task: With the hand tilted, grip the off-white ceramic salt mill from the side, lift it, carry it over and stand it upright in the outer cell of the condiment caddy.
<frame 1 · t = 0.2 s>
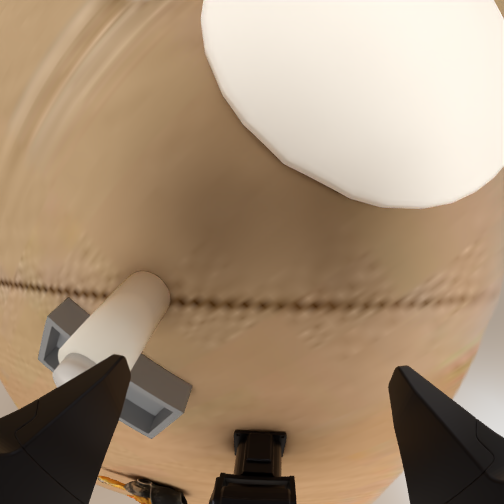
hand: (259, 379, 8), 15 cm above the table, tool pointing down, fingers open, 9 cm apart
plate: (377, 37, 16), on the table
salt mill: (146, 294, 25), on the table
condiment caddy: (115, 364, 28), on the table
fried shrimp in bowl: (146, 480, 41), on the table
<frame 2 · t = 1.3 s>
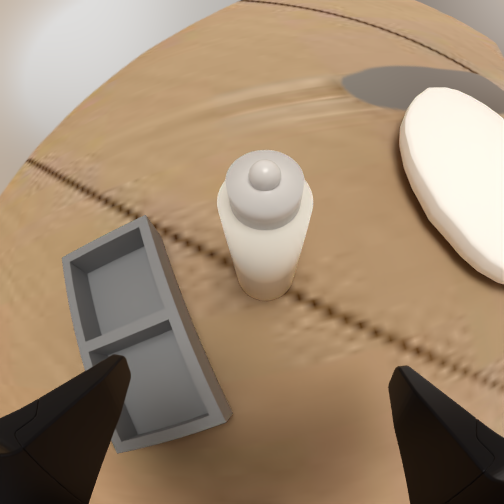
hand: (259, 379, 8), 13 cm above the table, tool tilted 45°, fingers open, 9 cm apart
plate: (479, 185, 27), on the table
salt mill: (265, 273, 24), on the table
condiment caddy: (145, 338, 22), on the table
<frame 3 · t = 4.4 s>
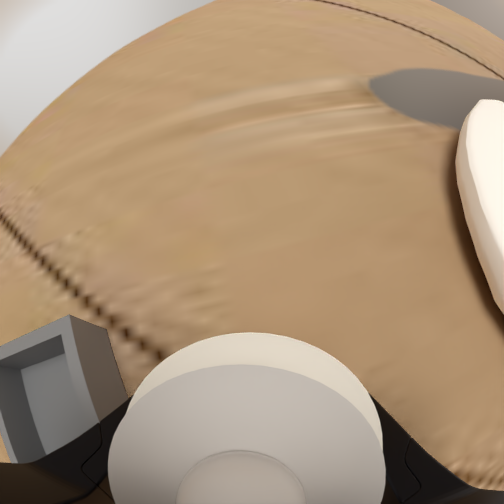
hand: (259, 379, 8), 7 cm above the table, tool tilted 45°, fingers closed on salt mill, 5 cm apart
salt mill: (260, 402, 14), on the table, touching gripper
condiment caddy: (97, 466, 12), on the table
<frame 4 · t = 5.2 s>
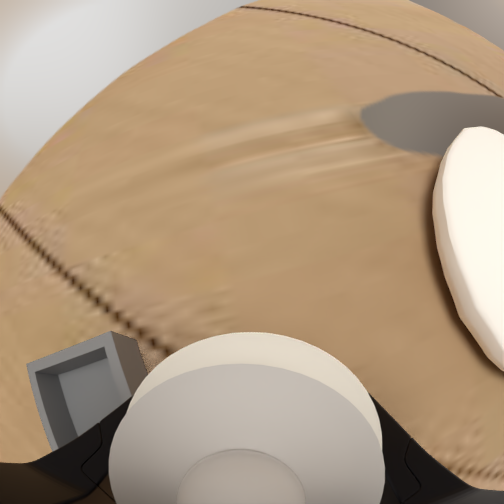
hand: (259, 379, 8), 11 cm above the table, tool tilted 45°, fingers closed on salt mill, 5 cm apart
salt mill: (260, 401, 14), point 5 cm above the table, touching gripper
condiment caddy: (127, 452, 16), on the table
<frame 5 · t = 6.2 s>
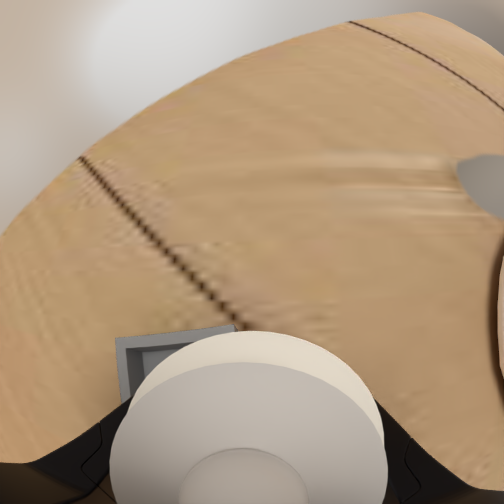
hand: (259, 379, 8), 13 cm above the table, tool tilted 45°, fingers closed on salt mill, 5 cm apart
salt mill: (260, 401, 14), point 7 cm above the table, touching gripper
condiment caddy: (200, 438, 19), on the table
when the fingers open (9 cm above the table, at t = 8.5 s): salt mill drops 1 cm, resting on condiment caddy.
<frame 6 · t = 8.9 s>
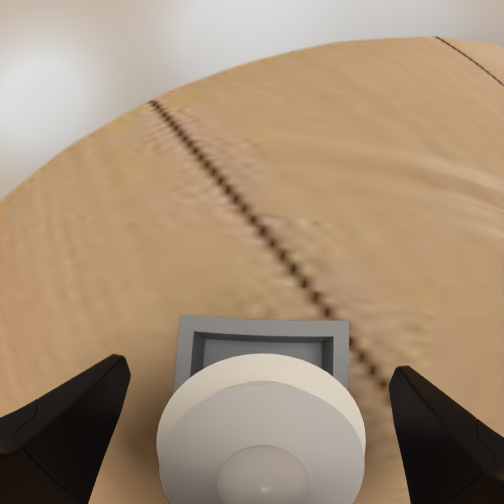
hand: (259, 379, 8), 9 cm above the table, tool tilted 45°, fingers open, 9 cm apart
salt mill: (259, 401, 15), point 1 cm above the table, touching condiment caddy
condiment caddy: (257, 455, 15), on the table
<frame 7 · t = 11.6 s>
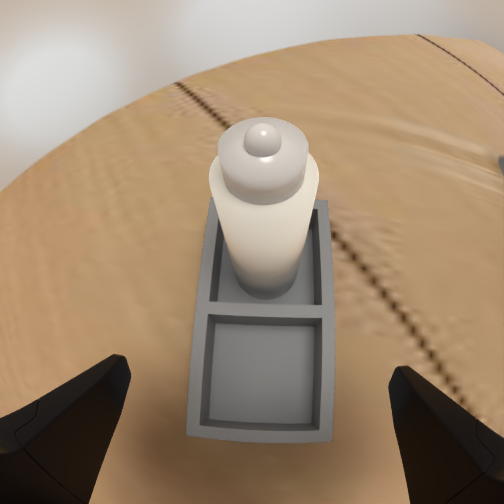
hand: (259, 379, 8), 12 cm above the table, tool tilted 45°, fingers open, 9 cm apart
salt mill: (266, 269, 22), point 1 cm above the table, touching condiment caddy
condiment caddy: (265, 322, 21), on the table
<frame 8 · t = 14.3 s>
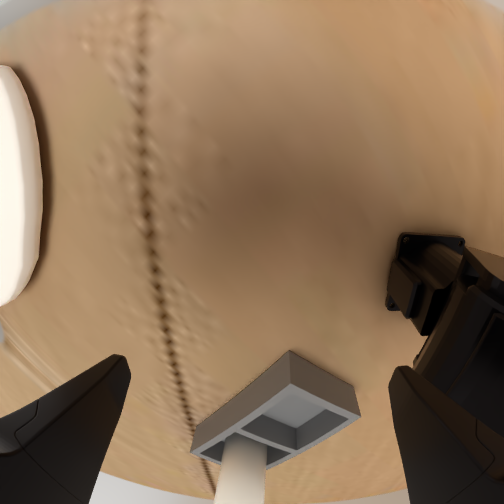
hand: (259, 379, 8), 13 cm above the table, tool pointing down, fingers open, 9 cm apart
salt mill: (247, 433, 27), point 1 cm above the table, touching condiment caddy
condiment caddy: (268, 412, 27), on the table
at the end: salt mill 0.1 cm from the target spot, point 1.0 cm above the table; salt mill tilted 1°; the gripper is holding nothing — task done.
